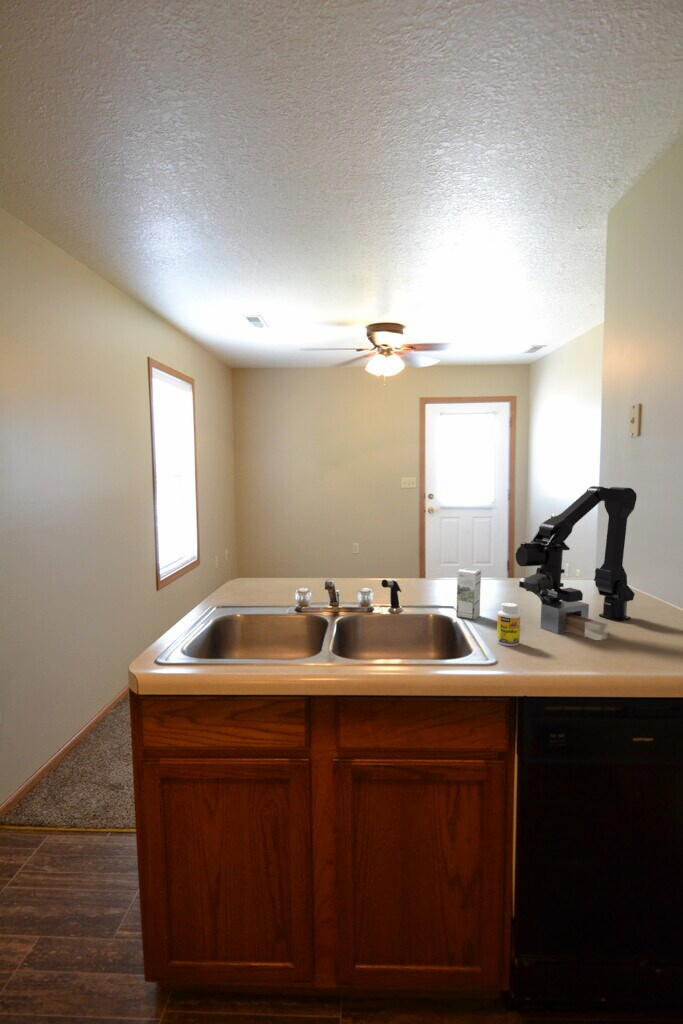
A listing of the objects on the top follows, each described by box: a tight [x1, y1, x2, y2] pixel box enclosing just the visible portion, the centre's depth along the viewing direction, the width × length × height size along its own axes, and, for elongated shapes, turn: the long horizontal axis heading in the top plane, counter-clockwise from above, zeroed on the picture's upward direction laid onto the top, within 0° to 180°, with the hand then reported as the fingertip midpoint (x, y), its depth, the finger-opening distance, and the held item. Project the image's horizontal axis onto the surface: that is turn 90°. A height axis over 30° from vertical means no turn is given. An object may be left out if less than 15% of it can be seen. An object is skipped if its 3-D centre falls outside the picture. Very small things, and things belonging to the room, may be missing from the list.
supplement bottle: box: [496, 602, 521, 647], centre depth 135 cm, size 6×6×10 cm
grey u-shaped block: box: [540, 600, 590, 635], centre depth 149 cm, size 12×6×7 cm, turn 116°
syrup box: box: [456, 567, 482, 621], centre depth 160 cm, size 6×6×14 cm
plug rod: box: [565, 613, 609, 641], centre depth 146 cm, size 4×16×4 cm, turn 31°
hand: (547, 617), depth 154 cm, fingers closed
